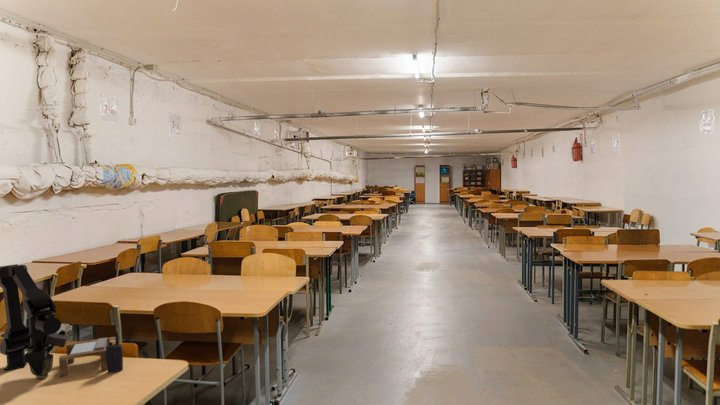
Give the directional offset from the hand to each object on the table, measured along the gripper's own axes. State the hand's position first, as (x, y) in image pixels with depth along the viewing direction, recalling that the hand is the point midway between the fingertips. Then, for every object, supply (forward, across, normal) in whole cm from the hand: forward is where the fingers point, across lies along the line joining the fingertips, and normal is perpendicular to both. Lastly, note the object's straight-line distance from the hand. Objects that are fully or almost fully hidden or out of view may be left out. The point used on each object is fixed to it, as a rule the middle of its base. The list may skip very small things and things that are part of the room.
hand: (41, 371), depth 162 cm
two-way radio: (+3, -6, -24) cm, 25 cm away
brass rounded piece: (+3, 0, 0) cm, 3 cm away
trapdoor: (-4, +5, -15) cm, 16 cm away
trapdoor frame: (+2, +5, -14) cm, 16 cm away
